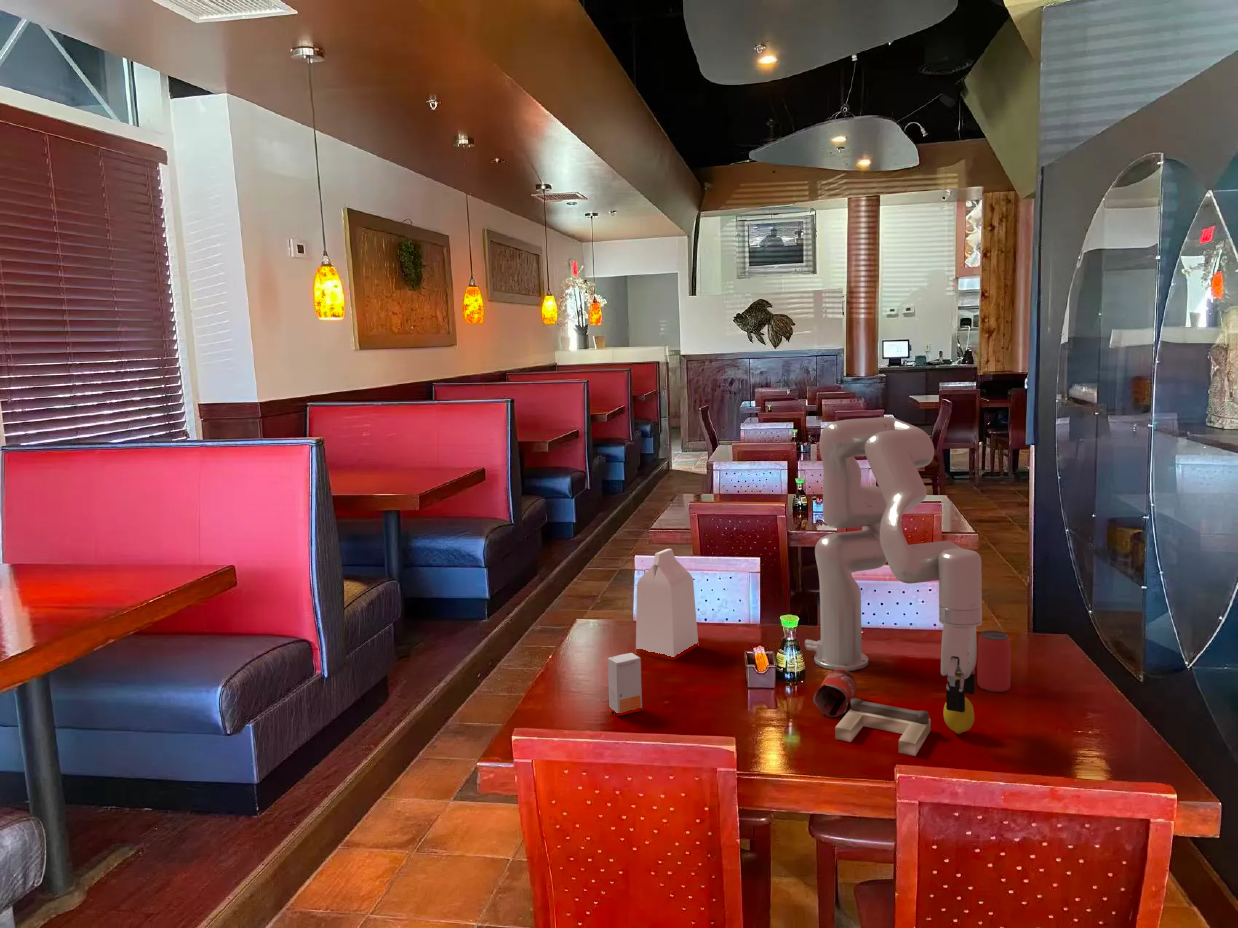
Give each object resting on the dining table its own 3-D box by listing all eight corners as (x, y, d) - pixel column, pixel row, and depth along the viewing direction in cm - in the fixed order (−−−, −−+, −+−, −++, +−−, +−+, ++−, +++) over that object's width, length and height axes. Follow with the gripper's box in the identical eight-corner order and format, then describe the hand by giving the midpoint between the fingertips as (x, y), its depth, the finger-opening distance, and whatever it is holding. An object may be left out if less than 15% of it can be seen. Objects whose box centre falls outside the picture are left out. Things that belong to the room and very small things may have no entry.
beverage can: (859, 697, 180) (859, 668, 179) (847, 719, 169) (847, 688, 169) (826, 692, 183) (825, 663, 183) (812, 714, 173) (812, 683, 172)
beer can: (1013, 693, 178) (1014, 639, 177) (980, 692, 180) (981, 638, 178) (1006, 681, 185) (1006, 629, 183) (974, 680, 186) (974, 629, 185)
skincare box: (618, 718, 175) (615, 663, 173) (609, 711, 178) (606, 657, 177) (643, 711, 177) (641, 657, 176) (633, 704, 181) (631, 651, 180)
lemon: (938, 728, 164) (938, 689, 163) (965, 726, 164) (965, 687, 163) (951, 741, 158) (952, 701, 157) (979, 739, 158) (980, 698, 158)
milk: (661, 639, 223) (657, 544, 220) (698, 646, 216) (695, 548, 213) (635, 653, 213) (631, 553, 210) (673, 661, 206) (670, 558, 203)
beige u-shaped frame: (834, 738, 161) (834, 718, 161) (854, 715, 171) (853, 695, 171) (915, 756, 153) (915, 734, 152) (931, 730, 163) (931, 710, 162)
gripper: (949, 601, 167) (950, 683, 169) (928, 624, 153) (930, 714, 154) (989, 605, 163) (990, 689, 165) (972, 629, 149) (973, 721, 150)
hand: (961, 701), depth 160 cm, fingers open, 9 cm apart
